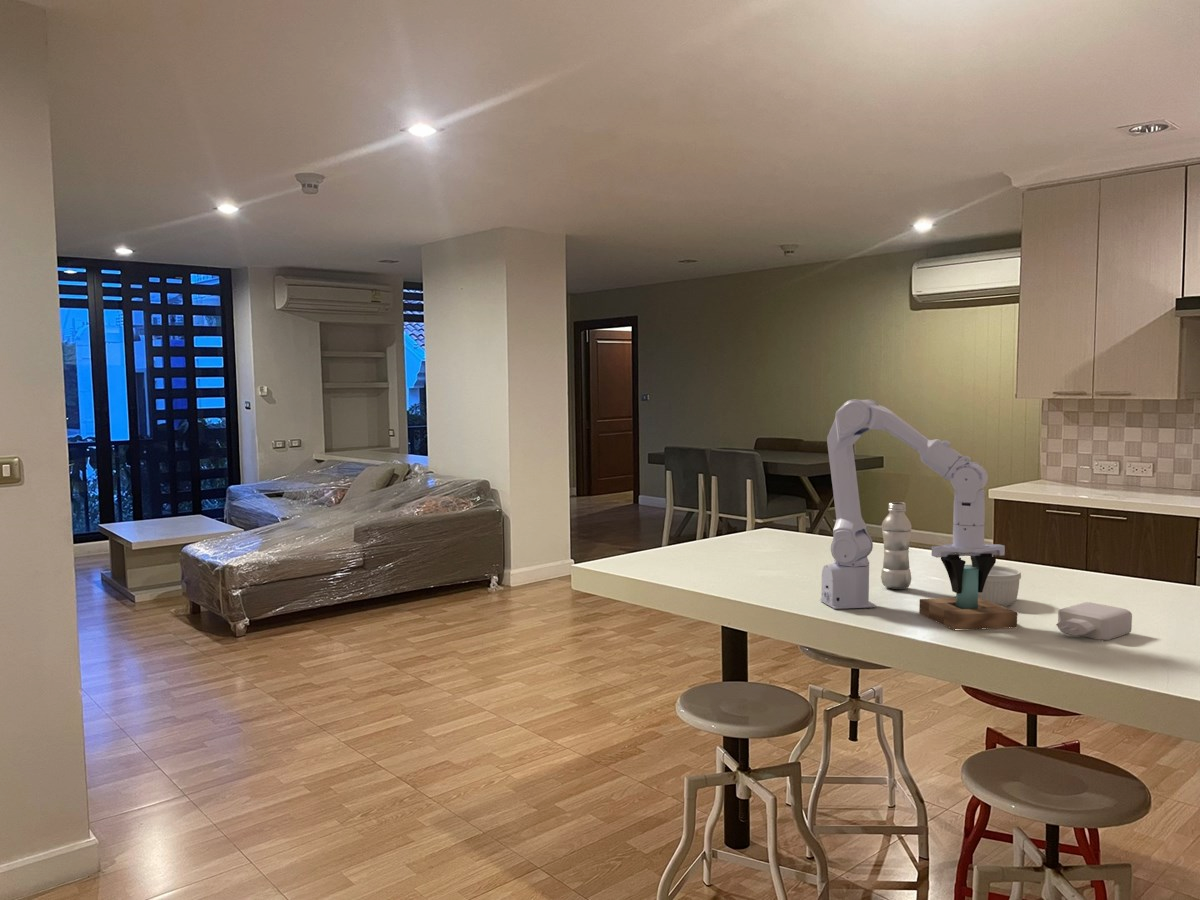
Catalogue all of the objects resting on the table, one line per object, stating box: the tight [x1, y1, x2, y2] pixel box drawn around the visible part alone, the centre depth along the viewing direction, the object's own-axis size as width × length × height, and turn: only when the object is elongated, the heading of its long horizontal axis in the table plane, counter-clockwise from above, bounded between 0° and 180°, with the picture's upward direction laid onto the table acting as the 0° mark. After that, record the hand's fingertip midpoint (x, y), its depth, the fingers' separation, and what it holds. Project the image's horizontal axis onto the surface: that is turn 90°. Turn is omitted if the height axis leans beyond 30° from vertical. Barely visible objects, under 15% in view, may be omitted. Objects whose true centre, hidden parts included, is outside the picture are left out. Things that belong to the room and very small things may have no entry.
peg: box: [955, 566, 979, 609], centre depth 170 cm, size 4×4×8 cm
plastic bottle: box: [880, 501, 912, 590], centre depth 198 cm, size 6×7×20 cm
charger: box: [1056, 601, 1133, 641], centre depth 159 cm, size 5×9×15 cm
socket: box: [918, 597, 1018, 631], centre depth 170 cm, size 13×13×3 cm
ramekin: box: [965, 563, 1022, 607], centre depth 187 cm, size 13×13×7 cm
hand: (967, 591), depth 170 cm, fingers closed on peg, 4 cm apart
